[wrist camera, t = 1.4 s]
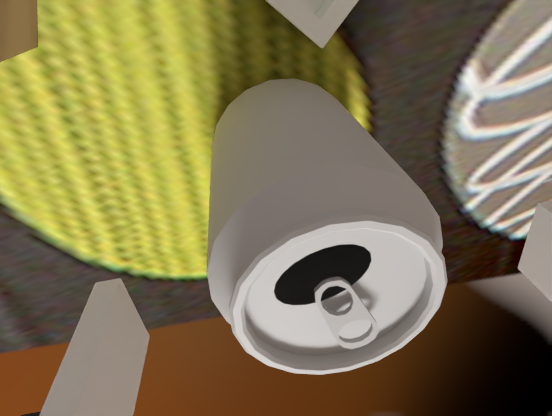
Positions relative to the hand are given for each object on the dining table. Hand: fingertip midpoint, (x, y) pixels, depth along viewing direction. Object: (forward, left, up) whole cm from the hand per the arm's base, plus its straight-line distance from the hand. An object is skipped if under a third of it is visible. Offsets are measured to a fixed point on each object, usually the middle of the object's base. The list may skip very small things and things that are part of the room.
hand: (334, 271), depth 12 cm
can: (0, 0, -10) cm, 10 cm away
